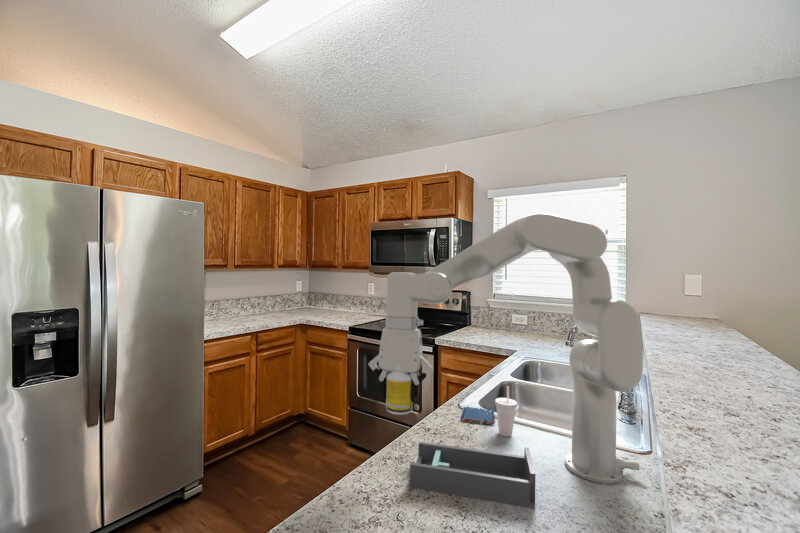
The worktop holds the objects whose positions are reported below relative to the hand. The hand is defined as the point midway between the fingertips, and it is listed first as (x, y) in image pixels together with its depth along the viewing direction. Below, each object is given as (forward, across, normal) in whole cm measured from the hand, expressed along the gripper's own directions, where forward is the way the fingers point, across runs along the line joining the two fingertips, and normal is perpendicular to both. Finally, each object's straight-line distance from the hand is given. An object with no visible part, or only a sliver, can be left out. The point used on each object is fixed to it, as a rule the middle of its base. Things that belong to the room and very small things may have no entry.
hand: (399, 397), depth 84 cm
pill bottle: (+3, 0, 0) cm, 3 cm away
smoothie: (+17, -26, -28) cm, 42 cm away
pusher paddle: (+16, -10, 0) cm, 19 cm away
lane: (+17, -17, 0) cm, 24 cm away
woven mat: (+18, -18, -38) cm, 46 cm away
